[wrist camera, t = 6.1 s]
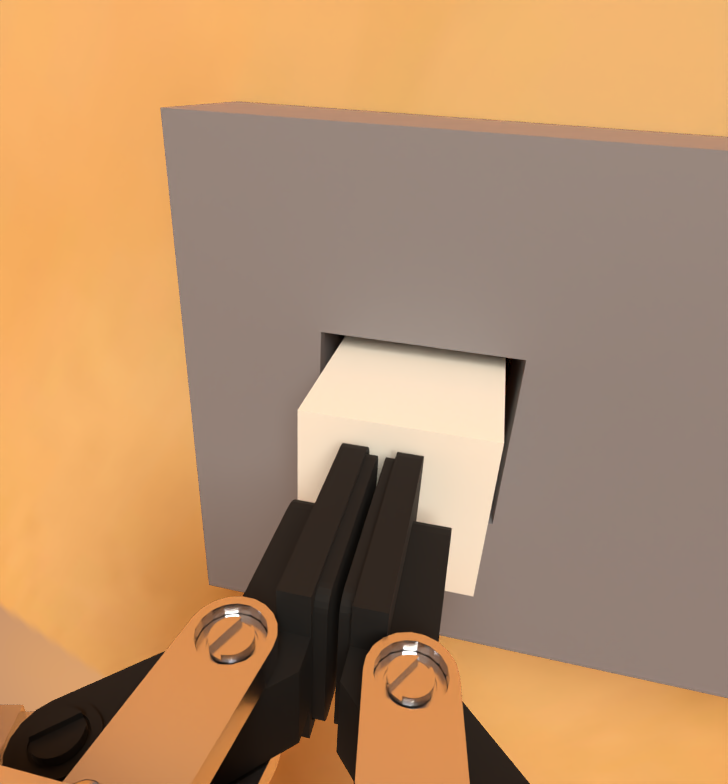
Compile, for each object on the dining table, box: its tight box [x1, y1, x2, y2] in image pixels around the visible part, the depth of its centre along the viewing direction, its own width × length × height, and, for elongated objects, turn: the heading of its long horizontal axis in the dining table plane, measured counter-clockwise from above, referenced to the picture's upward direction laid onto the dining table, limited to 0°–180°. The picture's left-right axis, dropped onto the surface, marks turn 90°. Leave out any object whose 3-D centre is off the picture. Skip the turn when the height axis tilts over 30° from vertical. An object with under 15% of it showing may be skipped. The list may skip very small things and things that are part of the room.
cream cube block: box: [298, 336, 506, 596], centre depth 14 cm, size 4×4×4 cm
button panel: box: [161, 102, 728, 698], centre depth 15 cm, size 14×24×4 cm, turn 87°
